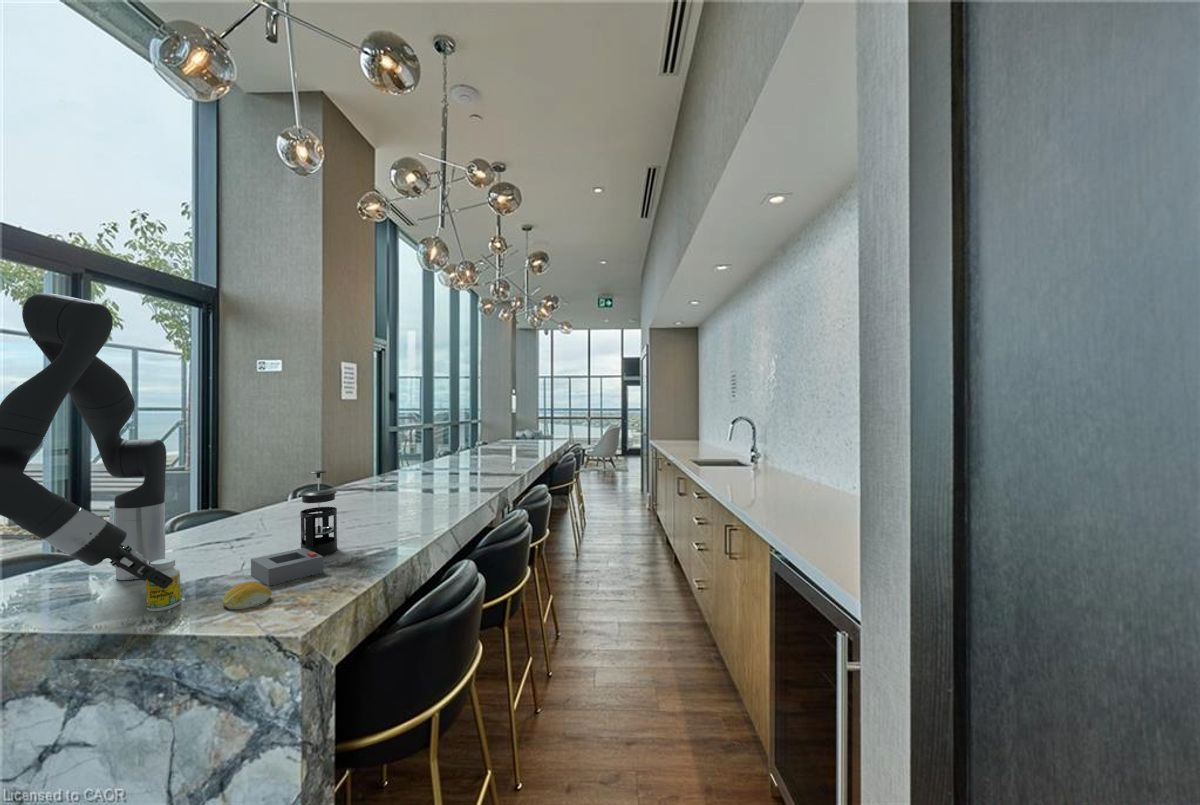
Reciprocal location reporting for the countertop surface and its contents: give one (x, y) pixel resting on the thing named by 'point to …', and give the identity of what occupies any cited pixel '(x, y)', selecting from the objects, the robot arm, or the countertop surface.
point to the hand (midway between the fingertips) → (164, 579)
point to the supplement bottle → (168, 596)
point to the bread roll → (246, 595)
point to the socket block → (286, 566)
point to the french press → (308, 528)
